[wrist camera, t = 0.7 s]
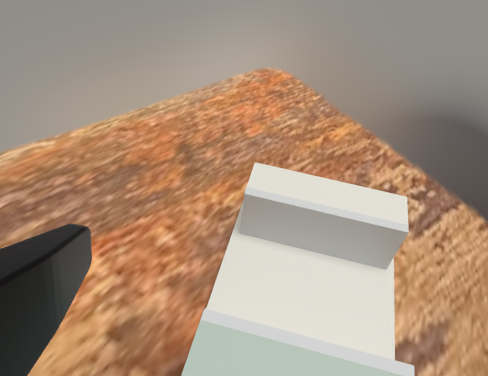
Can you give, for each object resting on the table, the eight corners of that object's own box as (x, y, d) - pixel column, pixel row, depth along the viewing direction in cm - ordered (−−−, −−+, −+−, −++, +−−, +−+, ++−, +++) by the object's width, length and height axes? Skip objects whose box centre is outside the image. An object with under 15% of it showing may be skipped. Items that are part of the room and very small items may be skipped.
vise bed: (388, 643, 16) (442, 659, 13) (126, 551, 17) (107, 542, 14) (388, 245, 30) (414, 198, 26) (242, 209, 31) (247, 160, 28)
